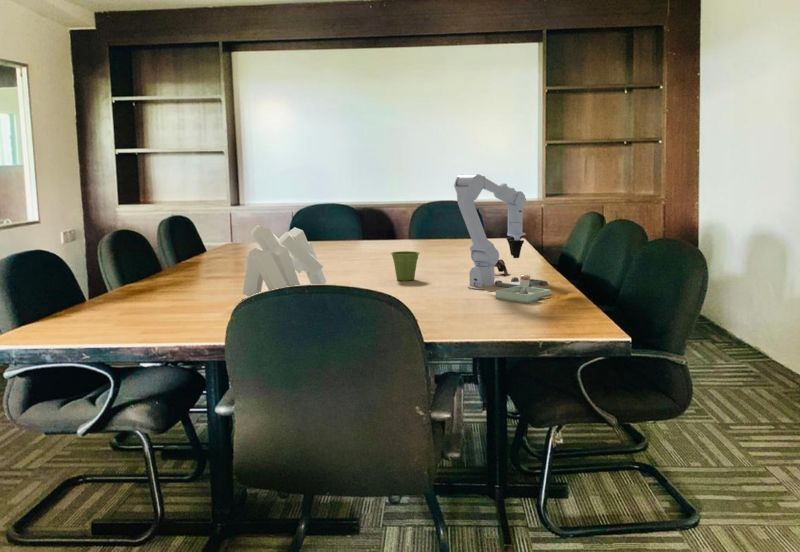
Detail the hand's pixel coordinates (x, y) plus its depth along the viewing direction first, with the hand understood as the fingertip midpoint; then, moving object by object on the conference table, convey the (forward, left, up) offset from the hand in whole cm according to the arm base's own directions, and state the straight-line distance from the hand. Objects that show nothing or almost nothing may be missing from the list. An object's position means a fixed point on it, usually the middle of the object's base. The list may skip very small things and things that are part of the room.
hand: (515, 256), depth 291 cm
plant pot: (-22, +40, -11) cm, 46 cm away
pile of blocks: (-77, +47, -11) cm, 90 cm away
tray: (-25, -22, -11) cm, 35 cm away
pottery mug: (+13, +20, -11) cm, 26 cm away
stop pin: (-23, -22, -10) cm, 33 cm away
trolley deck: (-9, -9, -11) cm, 17 cm away
